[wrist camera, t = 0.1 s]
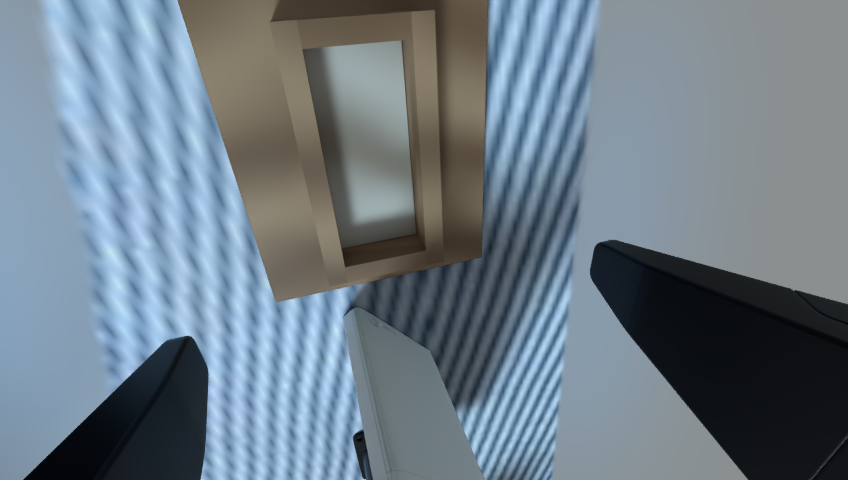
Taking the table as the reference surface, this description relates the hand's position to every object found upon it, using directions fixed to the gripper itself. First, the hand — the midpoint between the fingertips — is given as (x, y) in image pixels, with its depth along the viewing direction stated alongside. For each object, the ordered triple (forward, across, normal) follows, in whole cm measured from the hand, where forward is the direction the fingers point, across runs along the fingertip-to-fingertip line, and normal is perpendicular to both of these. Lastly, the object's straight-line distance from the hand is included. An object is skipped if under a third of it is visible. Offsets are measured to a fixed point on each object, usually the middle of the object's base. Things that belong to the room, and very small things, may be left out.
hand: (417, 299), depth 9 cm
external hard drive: (+14, -1, +15) cm, 21 cm away
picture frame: (+14, -1, +1) cm, 14 cm away
